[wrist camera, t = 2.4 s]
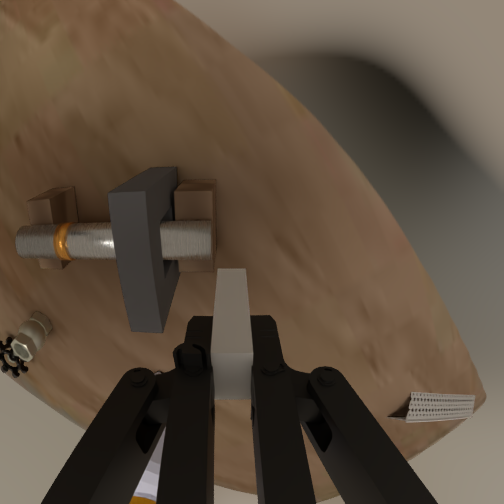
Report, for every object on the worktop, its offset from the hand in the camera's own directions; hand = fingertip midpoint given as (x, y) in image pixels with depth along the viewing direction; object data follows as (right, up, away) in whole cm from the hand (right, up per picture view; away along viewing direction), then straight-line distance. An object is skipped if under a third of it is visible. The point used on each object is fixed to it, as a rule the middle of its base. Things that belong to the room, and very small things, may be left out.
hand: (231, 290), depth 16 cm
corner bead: (+42, -32, +33) cm, 62 cm away
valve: (-32, -10, +17) cm, 37 cm away
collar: (-7, +5, +10) cm, 13 cm away
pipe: (-11, +4, +7) cm, 14 cm away
